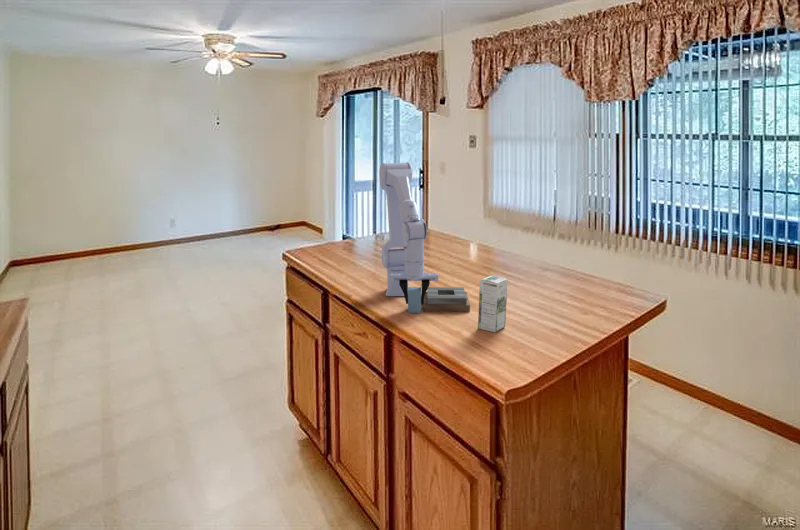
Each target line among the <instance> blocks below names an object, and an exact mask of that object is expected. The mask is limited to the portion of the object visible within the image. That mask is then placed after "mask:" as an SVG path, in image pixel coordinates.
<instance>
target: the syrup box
mask: <svg viewBox="0 0 800 530" xmlns="http://www.w3.org/2000/svg"><path fill="white" fill-rule="evenodd" d="M508 281H509V279H507V278H505V277H502V276H497V275H489V276H486V277H485V278H482V279H480V281H479V292H478V293H479V295H478V320H477V328H478V329H479V330H484V331H487V332H492V333H498V332H499V331H501V330H502V329H504V328H505V327H506V318H507V317H506V316H507V301H508V300H507V299H508V298H507V297H508Z"/></svg>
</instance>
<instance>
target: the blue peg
mask: <svg viewBox="0 0 800 530" xmlns="http://www.w3.org/2000/svg"><path fill="white" fill-rule="evenodd" d="M421 293H422V286H408V304H407V313H409V314H411V313H414V314H415V313H416V314H417V313H419V314H420V313H422V304H421Z"/></svg>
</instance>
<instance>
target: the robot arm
mask: <svg viewBox="0 0 800 530" xmlns="http://www.w3.org/2000/svg"><path fill="white" fill-rule="evenodd" d="M378 172H379V185H380V188H381V190H383V191H385V195H386V206H387V220H388V233H389V235H388V236H389V239H388V240H387V241H386V242H384V244H383V245H382V247H381V263H382V266H383V268H385V269H386V280H387V281H386V283H387V284H386V286H387V287H386V292H385V296H386V297H404V300H405V305H408V287H409V281H410V282H411V281H412V282H413V281H415V282H417V281H419V282H420V281H421V305H424V297H425V294H426V292H427V289H428V287H430V283H431V282H432V281H434V282H438V281H439V273H432V272H424V271H425V268H424V267H425V252H424V251H425V250H424V249H425V240H426V239H427V235H428V228H427V224H426V221H425V220H424V219H423V217H421V214H420V212H419V211H420V210H419V207H418V203H416V201H414V200H413V199H412V193H411V187H410V184H411V181H412V178H413V166H412V164H411V162H409V161H407V162H393V163H387V162H386V163H385V162H382V163H381V164H380V166H379V171H378ZM430 281H431V282H430Z"/></svg>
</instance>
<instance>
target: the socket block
mask: <svg viewBox="0 0 800 530" xmlns="http://www.w3.org/2000/svg"><path fill="white" fill-rule="evenodd" d="M423 307H424V311H423V312H426V313H427V312H428V313H430V312H431V313H432V312H435V311H437V312H439V311H442V312H444V311H449V313H450V312H451V311H453V313H454V312H455V313H457V312H461V313H462V312H463V313H465V312H469V313H470V312H471V309H470V308H471V304H470V301H469V297H468V292H467V291H466V290H465V288H464V286H429V287H428V289H427V291H426V294H425V297H424V301H423ZM435 313H436V312H435ZM451 313H452V312H451Z"/></svg>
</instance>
